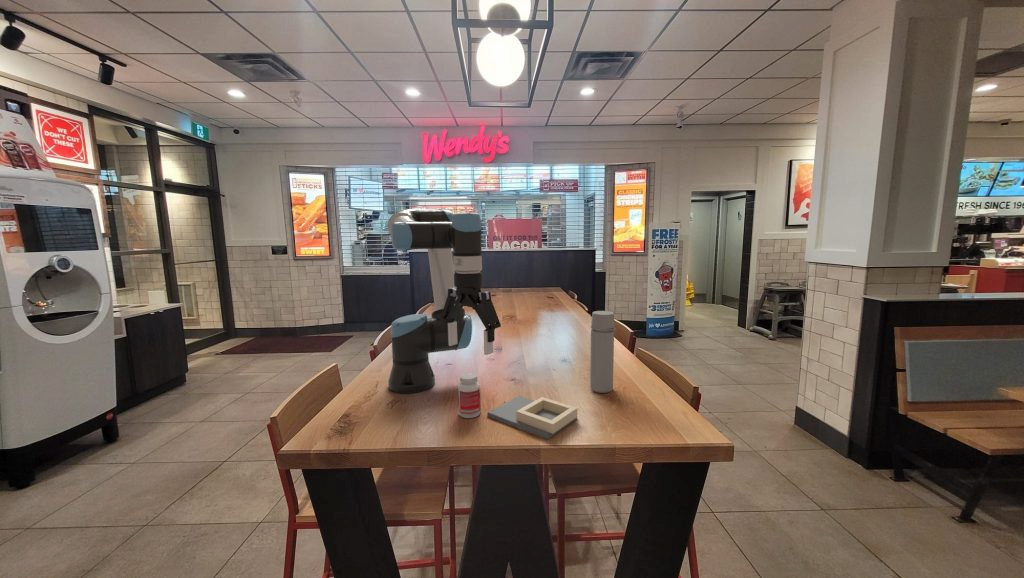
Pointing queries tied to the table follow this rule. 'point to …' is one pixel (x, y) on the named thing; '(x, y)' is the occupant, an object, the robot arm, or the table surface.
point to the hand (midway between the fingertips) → (470, 349)
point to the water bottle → (602, 351)
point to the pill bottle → (469, 396)
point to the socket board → (535, 415)
